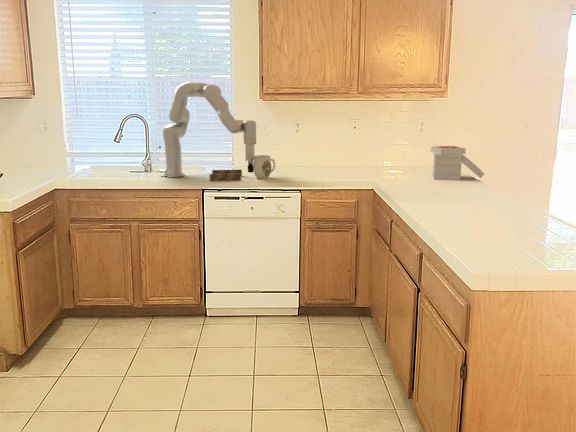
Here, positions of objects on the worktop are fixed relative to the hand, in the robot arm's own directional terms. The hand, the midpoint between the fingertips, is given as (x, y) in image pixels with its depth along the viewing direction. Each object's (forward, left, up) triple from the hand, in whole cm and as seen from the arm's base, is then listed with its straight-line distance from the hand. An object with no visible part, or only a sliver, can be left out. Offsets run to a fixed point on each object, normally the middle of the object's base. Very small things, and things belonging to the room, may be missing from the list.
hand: (250, 172), depth 356 cm
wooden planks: (-15, 0, -4) cm, 15 cm away
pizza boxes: (+121, -11, -4) cm, 122 cm away
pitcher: (+8, 0, -4) cm, 9 cm away
